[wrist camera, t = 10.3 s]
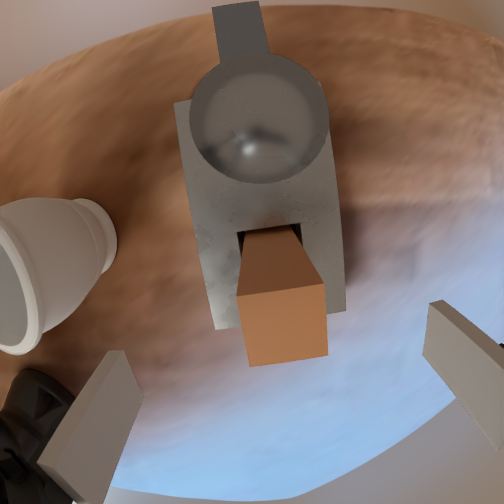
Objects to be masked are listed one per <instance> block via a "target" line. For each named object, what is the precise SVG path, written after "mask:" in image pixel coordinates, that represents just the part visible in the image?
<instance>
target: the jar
mask: <svg viewBox="0 0 504 504" xmlns="http://www.w3.org/2000/svg"><path fill="white" fill-rule="evenodd" d="M116 250H117V237H116V231H115V228H114V225H113V223H112V221H111V219H110V217H109V215H108V214H107V213H106V211H105V210H104V209H103V208H102V207H101V206H99V205H98V204H97V203H95V202H93V201H91V200H88V199H83V198H78V199H73V200H67V199H61V198H42V197H35V198H26V199H21V200H17V201H13V202H10V203H8V204H5V205H3V206H1V207H0V350H2V351H4V352H6V353H8V354H12V355H22V354H25V353H27V352H29V351H30V350H32V349H33V348H34V347H35V346H36V345H37V344H38V342H39V341H40V339H41V337H42V334H43V333H44V332H46V331H48V330H50V329H52V328H53V327H55V326H56V325H58V324H59V323H61V322H62V321H63V320H65V319H66V318H67V317H68V316H70V315H71V314H72V313H73V312H74V311H75V310H76V309H77V308H78V306H79V305H80V304H81V303H82V302H83V300H84V299H85V297H86V296H87V294H88V293H89V291H90V290H91V289H92V287H93V286H94V285H95V283H96V282H97V280H98V279H99V277H100V275H101V274H102V273H104V272H105V271H106V270H107V269H108V268H109V267H110V266H111V264H112V262H113V260H114V258H115V255H116Z"/></svg>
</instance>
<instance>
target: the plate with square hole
mask: <svg viewBox="0 0 504 504" xmlns="http://www.w3.org/2000/svg"><path fill="white" fill-rule="evenodd" d="M212 12H213V18H214V25H215V31H216V37H217V44H218V50H219V56H220V64H219V65H217V66H216V67H214V68H213V69H212V70H211V71H210V72H209V73H208V74H207V75H206V76H205V77H204V78H203V79H202V81H201V82H200V84H199V85H198V87H197V89H196V91H195V92H194V95H193V98H192V99H189V100H185V101H181V102H176V103H173V104H174V112H175V119H176V126H177V133H178V139H179V146H180V152H181V159H182V165H183V171H184V177H185V183H186V188H187V194H188V200H189V205H190V211H191V216H192V221H193V227H194V232H195V237H196V242H197V247H198V252H199V257H200V262H201V266H202V271H203V276H204V281H205V285H206V290H207V294H208V299H209V303H210V307H211V312H212V316H213V320H214V325H215V329H216V330H218V329H227V328H236V327H242V325H241V320H240V315H239V310H238V304H237V299H236V293H237V286H238V279H239V272H240V265H241V258H242V251H243V247H242V241H241V235H240V231H246V230H253V229H260V228H267V227H274V226H281V225H288V224H295V223H296V230H297V238H298V240H299V242H300V243H301V245H302V247H303V248H304V250H305V252H306V253H307V255H308V257H309V258H310V260H311V262H312V263H313V265H314V267H315V268H316V270H317V272H318V274H319V275H320V277H321V279H322V280H323V282H324V286H325V301H326V314H331V313H337V312H342V311H346V293H345V271H344V255H343V241H342V228H341V217H340V207H339V197H338V189H337V180H336V172H335V165H334V157H333V150H332V143H331V137H330V131H329V118H330V116H329V107H328V104H327V100H326V97H325V95H324V92H323V90H322V86H321V82H317V81H316V79H315V78H314V77H313V76H312V75H311V74H310V73H309V72H308V71H307V70H306V69H305V68H303V67H302V66H301V65H299V64H298V63H296V62H294V61H292V60H290V59H288V58H286V57H283V56H279V55H276V54H270V53H269V48H268V43H267V38H266V33H265V29H264V24H263V19H262V15H261V10H260V6H259V2H258V1H253V2H244V3H236V4H230V5H223V6H217V7H212Z"/></svg>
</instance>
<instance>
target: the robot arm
mask: <svg viewBox="0 0 504 504" xmlns="http://www.w3.org/2000/svg"><path fill="white" fill-rule="evenodd" d="M422 355H423V357H424V358H425V359H426V360H427V361H428V363H429V364H430V365H431V366H432V367H433V369H434V370H435V371H436V372H437V374H438V375H439V376H440V377H441V378H442V380H443V381H444V382H445V383H446V385H447V386H448V387H449V388H450V390H451V391H452V392H453V394H454V395H455V396H456V397H457V399H458V400H459V401H460V402H461V404H462V405H463V406H464V408H465V409H466V410H467V412H468V413H469V414H470V416H471V417H472V418H473V420H474V421H475V422H476V424H477V425H478V426H479V428H480V429H481V430H482V432H483V433H484V435H485V436H486V437H487V439H488V440H489V441H490V443H491V444H492V446H493V447H494V449H495V450H496V451H498V450H499V449H501V448H502V447H504V344H502V343H501V344H499V345H498V344H497V343H496V342H495V341H494V340H492V339H491V338H490V337H489V336H488V335H487V334H485V333H484V332H483V331H482V330H480V329H479V328H478V327H477V326H476V325H474V324H473V323H472V322H471V321H469V320H468V319H467V318H466V317H464V316H463V315H462V314H461V313H459V312H458V311H457V310H455V309H454V308H453V307H452V306H450V305H449V304H448V303H446V302H445V301H444V300H439V301H436V302H432V303H429V309H428V318H427V327H426V334H425V341H424V348H423V354H422ZM143 399H144V397H143V395H142V392H141V390H140V388H139V386H138V384H137V381H136V379H135V377H134V374H133V372H132V370H131V367H130V365H129V363H128V360H127V358H126V355H125V353H124V350H109V351H108V352H107V354H106V355H105V356H104V358H103V359H102V361H101V362H100V364H99V365H98V367H97V368H96V369H95V371H94V372H93V374H92V375H91V377H90V378H89V380H88V381H87V383H86V384H85V386H84V387H83V389H82V390H81V392H80V393H79V395H78V396H77V398H76V399H75V398H74V397H73V396H72V395H71V394H70V393H69V392H68V391H67V390H66V389H65V388H64V387H63V386H61V385H60V384H59V383H58V382H56V381H55V380H53V379H52V378H50V377H49V376H47V375H45V374H43V373H41V372H39V371H36V370H31V369H25V370H22V371H21V372H20V373H19V374H18V375H17V376H16V377H15V378H14V380H13V381H12V384H11V387H10V390H9V392H8V395H7V398H6V401H5V404H4V407H3V409H2V410H1V411H0V504H72V502H73V500H74V501H75V502H76V503H77V504H103V503H104V500H105V497H106V494H107V492H108V489H109V486H110V483H111V481H112V478H113V475H114V472H115V470H116V467H117V464H118V462H119V459H120V457H121V454H122V451H123V449H124V446H125V444H126V441H127V439H128V436H129V433H130V431H131V428H132V426H133V423H134V421H135V418H136V416H137V413H138V411H139V409H140V406H141V404H142V401H143Z"/></svg>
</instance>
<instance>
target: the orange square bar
mask: <svg viewBox="0 0 504 504" xmlns="http://www.w3.org/2000/svg"><path fill="white" fill-rule="evenodd" d="M236 299H237V304H238V310H239V315H240V320H241V325H242V330H243V335H244V340H245V345H246V350H247V355H248V360H249V365H250V367H252V366H261V365H269V364H277V363H284V362H291V361H297V360H304V359H310V358H316V357H321V356H327V355H328V340H327V318H326V301H325V286H324V282H323V280H322V279H321V277H320V275H319V274H318V272H317V270H316V268H315V267H314V265H313V263H312V262H311V260H310V258H309V257H308V255H307V253H306V252H305V250H304V248H303V247H302V245H301V243H300V242H299V240H298V238H297V237H296V235H295V234H294V232H293V230H292V229H291V227H290V225H289V224H288V225H281V226H274V227H267V228H260V229H253V230H246V231H245V238H244V245H243V251H242V258H241V265H240V272H239V279H238V286H237V293H236Z"/></svg>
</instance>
